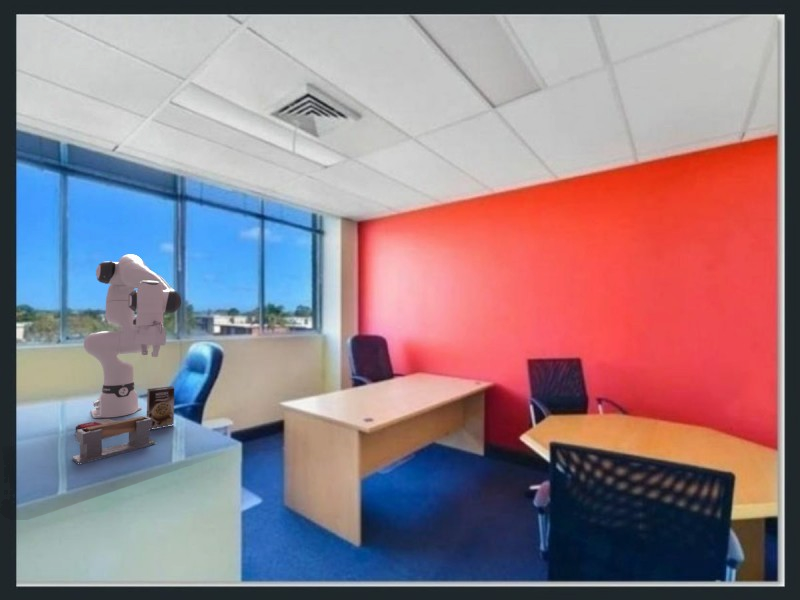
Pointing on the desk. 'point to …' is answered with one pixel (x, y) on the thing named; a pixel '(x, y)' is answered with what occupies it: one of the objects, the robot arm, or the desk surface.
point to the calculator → (93, 424)
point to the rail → (116, 427)
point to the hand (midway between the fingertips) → (149, 355)
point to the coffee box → (160, 406)
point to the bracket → (93, 446)
